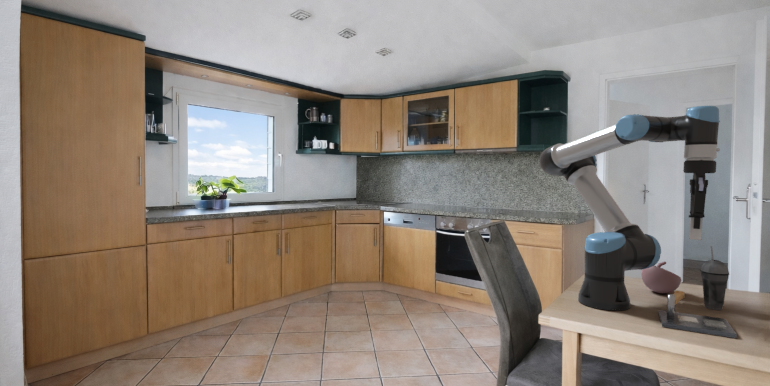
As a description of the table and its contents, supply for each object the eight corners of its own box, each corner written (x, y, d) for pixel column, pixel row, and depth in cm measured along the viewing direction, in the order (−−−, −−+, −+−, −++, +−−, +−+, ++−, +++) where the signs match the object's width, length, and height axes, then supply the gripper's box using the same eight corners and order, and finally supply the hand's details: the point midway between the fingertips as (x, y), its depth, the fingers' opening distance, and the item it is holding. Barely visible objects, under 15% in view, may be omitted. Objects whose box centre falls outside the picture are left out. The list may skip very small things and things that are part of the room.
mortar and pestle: (689, 296, 142) (690, 264, 142) (662, 298, 139) (662, 265, 139) (659, 287, 154) (659, 257, 153) (633, 289, 151) (633, 259, 150)
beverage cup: (733, 312, 125) (736, 248, 124) (707, 310, 126) (709, 247, 126) (719, 305, 132) (721, 244, 131) (694, 303, 134) (696, 244, 133)
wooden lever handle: (676, 305, 117) (677, 299, 116) (667, 303, 118) (667, 297, 118) (685, 297, 125) (685, 291, 125) (675, 295, 127) (675, 290, 126)
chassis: (662, 326, 112) (662, 299, 112) (658, 313, 124) (659, 288, 123) (736, 338, 104) (737, 308, 104) (725, 323, 115) (726, 296, 115)
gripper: (720, 159, 110) (715, 244, 111) (712, 160, 121) (707, 237, 122) (686, 159, 114) (681, 241, 115) (681, 160, 125) (677, 235, 126)
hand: (695, 239), depth 119 cm, fingers closed
